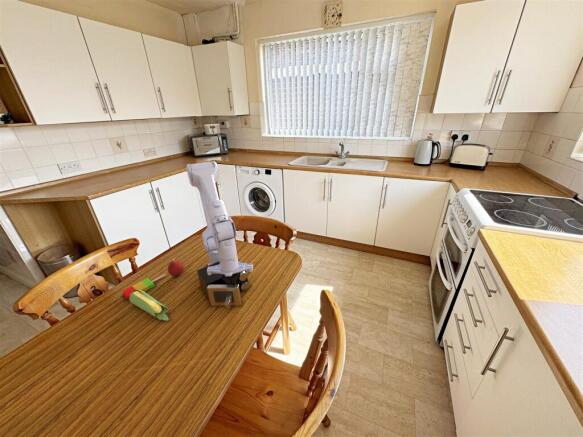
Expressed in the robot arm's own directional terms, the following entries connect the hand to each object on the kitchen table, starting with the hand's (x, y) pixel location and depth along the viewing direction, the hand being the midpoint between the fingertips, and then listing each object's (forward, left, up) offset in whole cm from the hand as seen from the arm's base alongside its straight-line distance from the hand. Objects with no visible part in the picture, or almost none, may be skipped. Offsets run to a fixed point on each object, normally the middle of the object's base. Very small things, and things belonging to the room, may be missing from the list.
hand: (233, 288), depth 82 cm
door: (+2, -5, -4) cm, 7 cm away
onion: (-27, -13, -5) cm, 30 cm away
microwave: (-8, -1, -4) cm, 9 cm away
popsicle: (-28, -24, -5) cm, 37 cm away
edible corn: (-14, -25, -5) cm, 28 cm away
